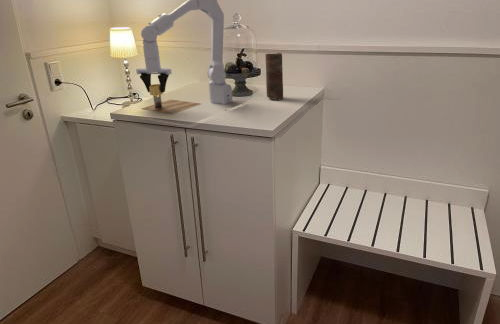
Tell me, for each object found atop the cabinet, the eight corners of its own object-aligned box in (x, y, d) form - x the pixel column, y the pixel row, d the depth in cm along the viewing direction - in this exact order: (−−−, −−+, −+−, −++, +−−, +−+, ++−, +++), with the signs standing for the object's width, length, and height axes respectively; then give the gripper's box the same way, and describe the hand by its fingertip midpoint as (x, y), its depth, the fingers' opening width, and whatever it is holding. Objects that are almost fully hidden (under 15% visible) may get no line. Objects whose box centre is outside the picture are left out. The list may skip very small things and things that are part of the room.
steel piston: (163, 106, 157) (162, 93, 155) (158, 108, 155) (156, 95, 153) (158, 105, 159) (156, 93, 157) (153, 107, 156) (151, 94, 154)
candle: (263, 100, 166) (263, 53, 159) (269, 96, 173) (268, 51, 165) (280, 101, 164) (280, 53, 156) (285, 97, 170) (285, 51, 162)
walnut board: (201, 105, 160) (201, 103, 160) (172, 116, 146) (172, 114, 146) (170, 101, 169) (170, 99, 169) (140, 111, 155) (140, 108, 155)
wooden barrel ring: (166, 93, 155) (165, 84, 154) (155, 96, 151) (154, 87, 150) (157, 92, 158) (156, 83, 157) (147, 94, 154) (146, 86, 153)
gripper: (173, 56, 151) (176, 90, 156) (140, 56, 154) (145, 89, 160) (165, 59, 145) (169, 93, 150) (131, 58, 148) (136, 93, 153)
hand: (156, 91), depth 154 cm, fingers closed on wooden barrel ring, 5 cm apart
